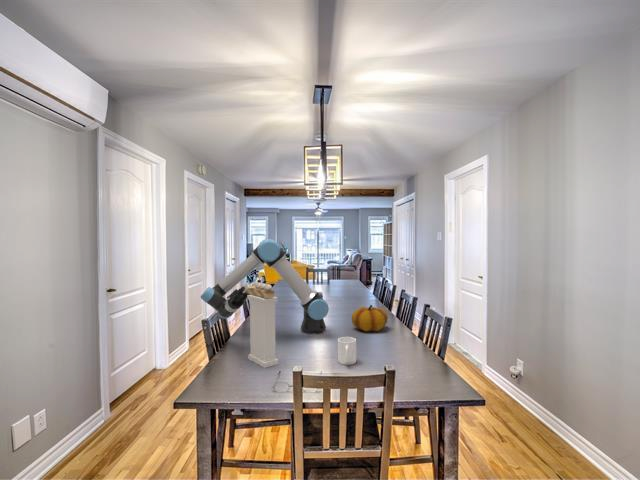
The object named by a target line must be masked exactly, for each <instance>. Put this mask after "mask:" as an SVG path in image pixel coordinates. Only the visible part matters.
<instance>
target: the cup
mask: <svg viewBox="0 0 640 480" xmlns="http://www.w3.org/2000/svg"><path fill="white" fill-rule="evenodd" d="M337 362H338V363H339V364H340V365H345V366H350V365H353V364H356V362H357V339H356V338H355V337H351V336H342V337H338V338H337Z"/></svg>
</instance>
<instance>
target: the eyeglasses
mask: <svg viewBox="0 0 640 480" xmlns="http://www.w3.org/2000/svg"><path fill="white" fill-rule="evenodd" d="M321 372H322V371H320V373H321ZM280 373H282V371H281V370H279V371H278V373H277V377H276V378H275V379H274V380H275V381H274V382H275V384H273V385H272V386H271V389H273V390H274V391H275V392H278V391H277V390H276V388H275V386H276V384H279V383H280V381H277V379H278V376H279V375H280ZM284 383H285V384H287V386H288V389H287V390H285V393H287V392H288V391H289V390H290V388H292V387H293V385H294V384H293V385H290V384H289V383H288V382H286V381H282V384H284ZM293 388H294V387H293ZM302 391H303V392H304V393H306V392H307V391H306V390H305V389H304V388H302ZM318 391H319V388H317V390H316V391H314V392H315V393H317V392H318Z"/></svg>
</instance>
